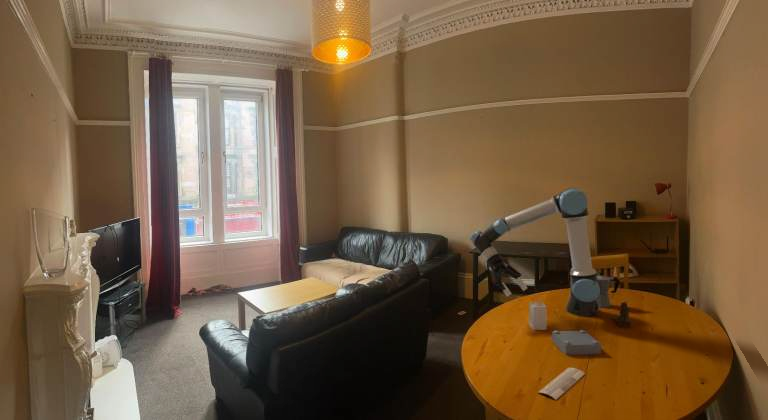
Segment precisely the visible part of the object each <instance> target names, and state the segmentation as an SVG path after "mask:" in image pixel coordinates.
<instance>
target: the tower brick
mask: <svg viewBox="0 0 768 420" xmlns="http://www.w3.org/2000/svg"><path fill="white" fill-rule="evenodd" d="M547 314H548V313H547V306H546V304H544V303H543V302H540V301H534V302H529V303H528V325H530V326H529V327H530V328H531V329H532V330H533V331H539V330H540V331H543V330H546V331H547Z"/></svg>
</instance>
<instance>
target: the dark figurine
mask: <svg viewBox="0 0 768 420" xmlns="http://www.w3.org/2000/svg"><path fill="white" fill-rule="evenodd" d="M630 312H631V309H630V307H629V306H628V303H627V301H624V302H621V304H620V309H619V313H618V314H620V315H616V316H612V317H611V320H613V321H614V322H615V323H618V324H617V326H616V327H617V328H621V325H624V326H626V327H627V328H631V323H632V321H631V320H629V317H630Z"/></svg>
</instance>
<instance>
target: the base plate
mask: <svg viewBox="0 0 768 420" xmlns="http://www.w3.org/2000/svg"><path fill="white" fill-rule="evenodd" d="M551 341H552V342H553V343H554V344H555V345H556V346H557V347H558V348H559V350H560V351H562V353H563V354H564V355H566V356H567V355H568V356H569V355H570V356H573V355H574V356H575V355H601V354H602V343H600V341H598V340H597V339H595V338H594V337H593V336H591V335H590V334H589V332H587V331H586V330H585V329H581V330H562V331H561V330H560V331H559V330H553V331H552V332H551Z"/></svg>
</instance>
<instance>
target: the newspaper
mask: <svg viewBox="0 0 768 420" xmlns="http://www.w3.org/2000/svg"><path fill="white" fill-rule="evenodd" d="M585 374H586V373H585V372H584V371H583V370H580V369H578V368H574V367H567V368H566V369H565V370H564V371H563V372H561V373H560V374H559V375H557V376H556V377H555V378H554V379H553V380H551V381H550V382H549V383H548V384H546V386H544V387H543V388H542V389H540V390H539V391H538V392H537V394H540V395H541V394H545V395H548V396H550V397H552V398H553V399H554V401H557V400H558V399H559V398H560V397H561V396H562V395H564V394H565V393H566V392H567V391H568V390H569V389H570V388H572V387H573V385H575V384H576V383H577V382H578V381H579V380H581V378H582V377H584V376H585Z"/></svg>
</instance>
